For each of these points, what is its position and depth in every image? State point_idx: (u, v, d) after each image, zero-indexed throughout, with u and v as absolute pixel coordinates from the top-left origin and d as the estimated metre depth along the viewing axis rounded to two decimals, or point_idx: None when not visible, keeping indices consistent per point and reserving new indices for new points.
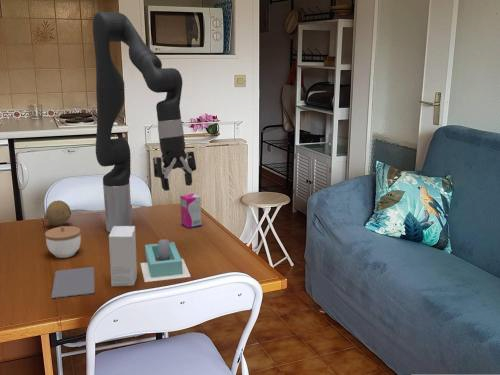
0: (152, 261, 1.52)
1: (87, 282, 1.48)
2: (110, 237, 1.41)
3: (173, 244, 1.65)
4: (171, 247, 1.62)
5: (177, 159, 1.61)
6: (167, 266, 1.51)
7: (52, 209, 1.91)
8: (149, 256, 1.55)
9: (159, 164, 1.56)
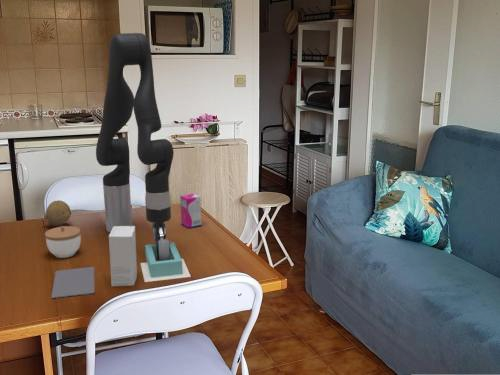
0: (152, 261, 1.52)
1: (87, 282, 1.48)
2: (110, 237, 1.41)
3: (173, 244, 1.65)
4: (171, 247, 1.62)
5: None
6: (167, 266, 1.51)
7: (52, 209, 1.91)
8: (149, 256, 1.55)
9: None
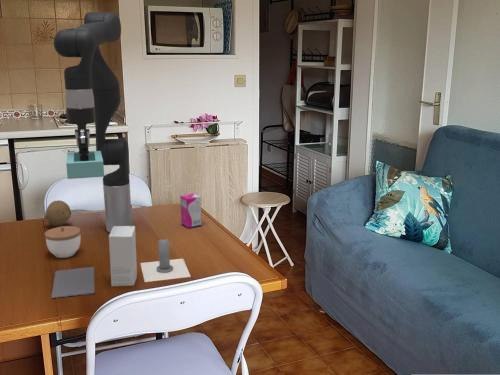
0: (69, 161, 1.35)
1: (87, 282, 1.48)
2: (110, 237, 1.41)
3: (99, 152, 1.49)
4: (96, 153, 1.46)
5: None
6: (86, 166, 1.35)
7: (52, 209, 1.91)
8: (68, 159, 1.39)
9: (87, 142, 1.43)
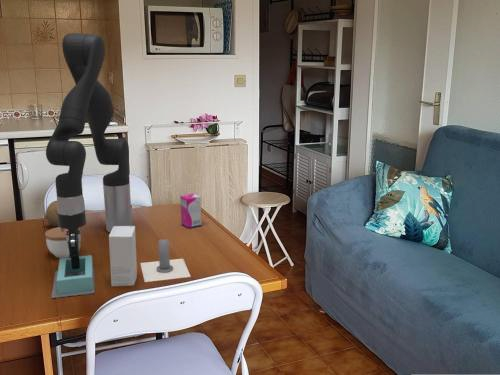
0: (59, 277, 1.42)
1: None
2: (110, 237, 1.41)
3: (90, 257, 1.55)
4: (86, 261, 1.53)
5: None
6: (75, 282, 1.42)
7: (52, 209, 1.91)
8: (59, 271, 1.46)
9: (77, 246, 1.49)
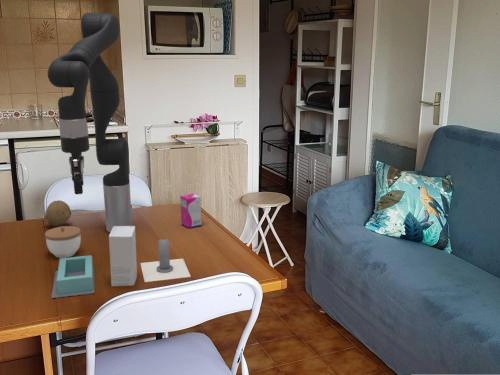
0: (59, 277, 1.42)
1: None
2: (110, 237, 1.41)
3: (90, 257, 1.55)
4: (86, 261, 1.53)
5: None
6: (75, 282, 1.42)
7: (52, 209, 1.91)
8: (59, 271, 1.46)
9: (80, 166, 1.45)
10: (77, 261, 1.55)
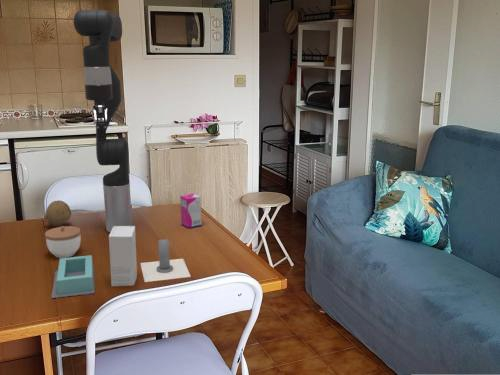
0: (59, 277, 1.42)
1: None
2: (110, 237, 1.41)
3: (90, 257, 1.55)
4: (86, 261, 1.53)
5: None
6: (75, 282, 1.42)
7: (52, 209, 1.91)
8: (59, 271, 1.46)
9: (105, 112, 1.49)
10: (77, 261, 1.55)
